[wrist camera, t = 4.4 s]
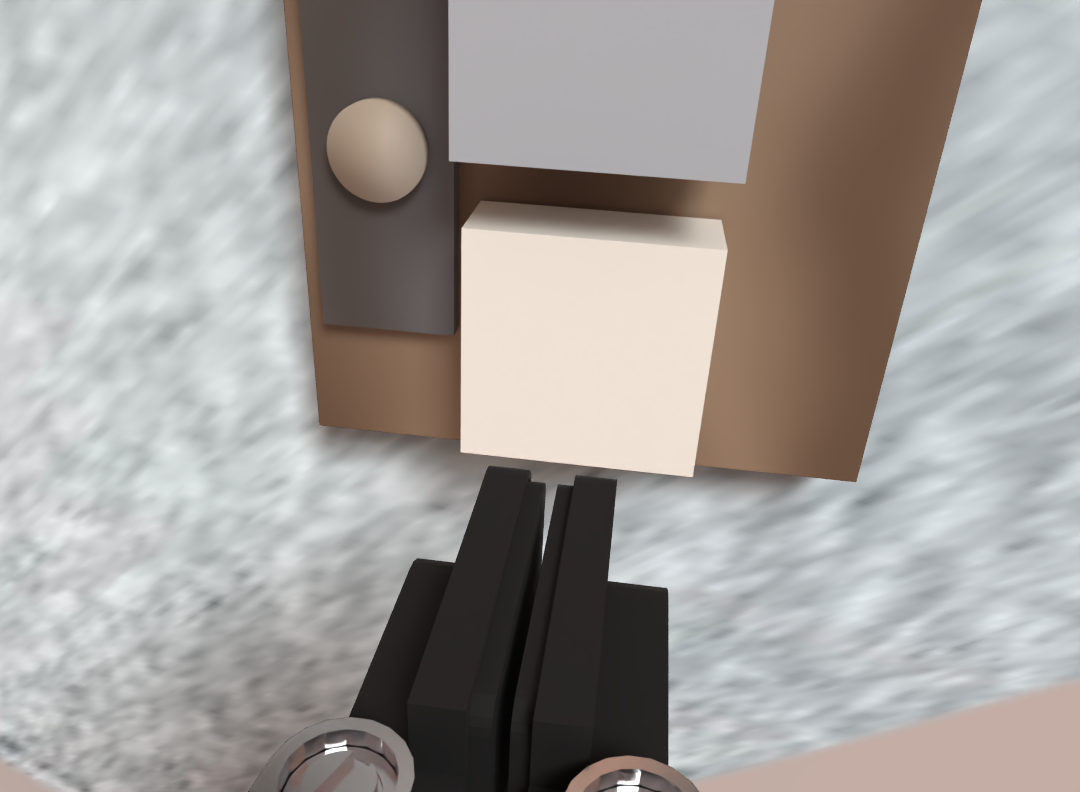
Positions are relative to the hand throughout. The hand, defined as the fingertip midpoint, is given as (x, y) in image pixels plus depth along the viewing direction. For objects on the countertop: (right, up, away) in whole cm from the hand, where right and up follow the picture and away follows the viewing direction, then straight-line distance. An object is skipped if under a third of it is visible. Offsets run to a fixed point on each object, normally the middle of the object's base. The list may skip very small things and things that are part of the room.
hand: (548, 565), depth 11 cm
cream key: (+1, +4, +8) cm, 9 cm away
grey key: (+1, +9, +4) cm, 10 cm away
